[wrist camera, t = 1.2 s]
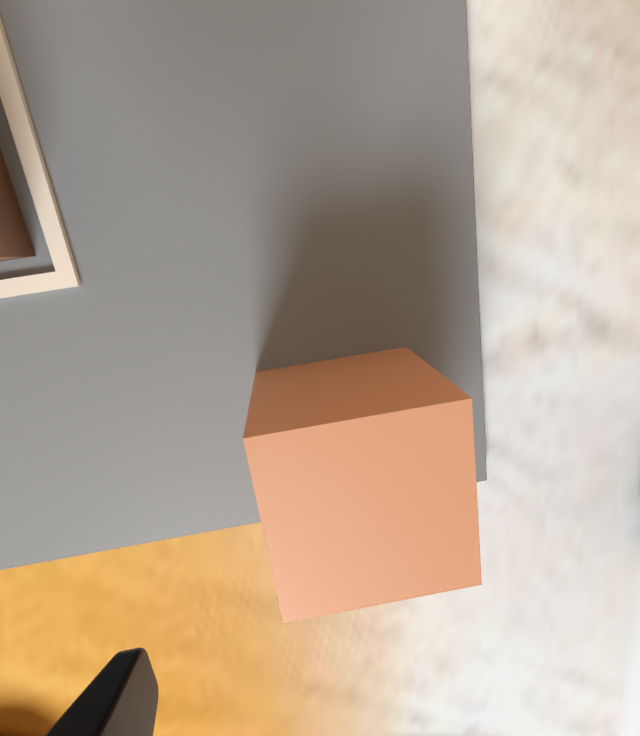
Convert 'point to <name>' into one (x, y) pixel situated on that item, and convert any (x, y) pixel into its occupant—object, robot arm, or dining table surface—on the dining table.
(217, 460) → the slate board
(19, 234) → the walnut block
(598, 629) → the dining table surface
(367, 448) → the terracotta block
